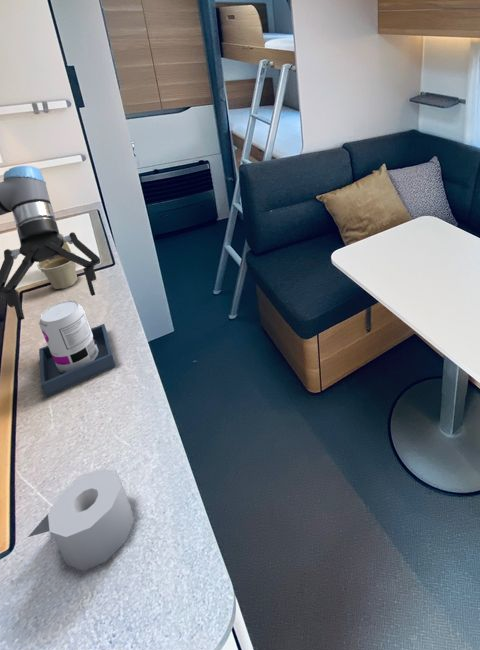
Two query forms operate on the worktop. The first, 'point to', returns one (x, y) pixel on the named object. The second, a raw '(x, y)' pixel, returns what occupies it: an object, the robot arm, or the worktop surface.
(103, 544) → the toilet tissue
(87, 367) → the blue open tray
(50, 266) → the flower pot
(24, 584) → the worktop surface
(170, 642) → the worktop surface
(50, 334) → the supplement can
